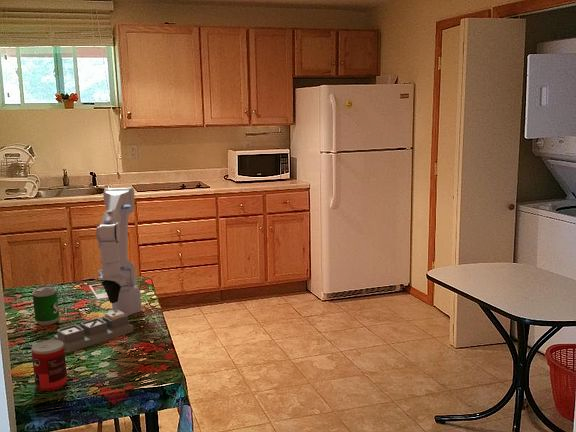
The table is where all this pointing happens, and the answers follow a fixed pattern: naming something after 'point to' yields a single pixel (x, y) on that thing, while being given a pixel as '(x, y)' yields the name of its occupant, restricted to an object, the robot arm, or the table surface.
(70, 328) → the one pip button
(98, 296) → the photo frame
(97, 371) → the table surface
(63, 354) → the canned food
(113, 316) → the two pip button
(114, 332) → the button panel
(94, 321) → the three pip button
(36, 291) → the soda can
